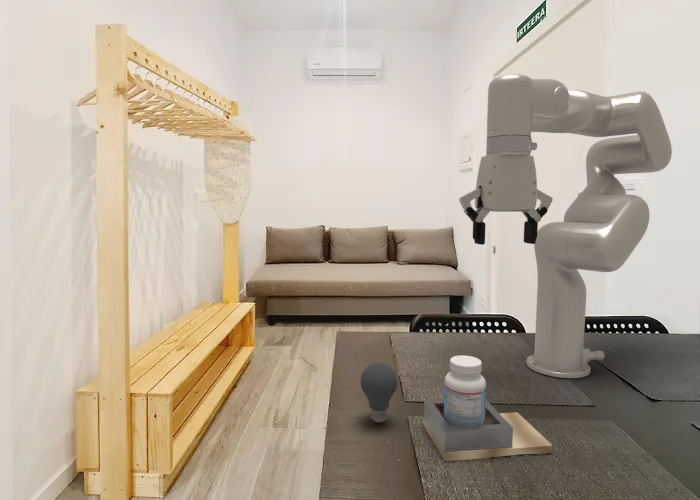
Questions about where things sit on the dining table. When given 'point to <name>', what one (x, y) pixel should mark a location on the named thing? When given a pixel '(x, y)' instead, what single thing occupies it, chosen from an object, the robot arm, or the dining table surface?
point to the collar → (468, 430)
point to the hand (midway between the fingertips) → (504, 243)
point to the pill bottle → (464, 392)
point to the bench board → (523, 443)
